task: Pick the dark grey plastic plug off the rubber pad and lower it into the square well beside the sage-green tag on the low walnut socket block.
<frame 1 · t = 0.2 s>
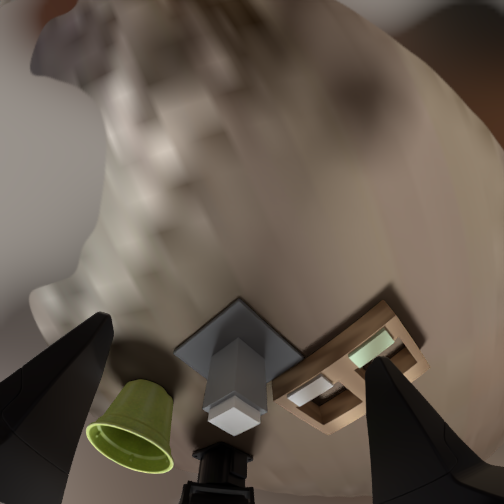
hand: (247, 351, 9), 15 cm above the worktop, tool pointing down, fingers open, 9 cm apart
plant pot: (148, 394, 29), on the worktop
pad: (238, 354, 27), on the worktop
plug: (237, 358, 26), resting on pad
socket block: (351, 368, 27), on the worktop
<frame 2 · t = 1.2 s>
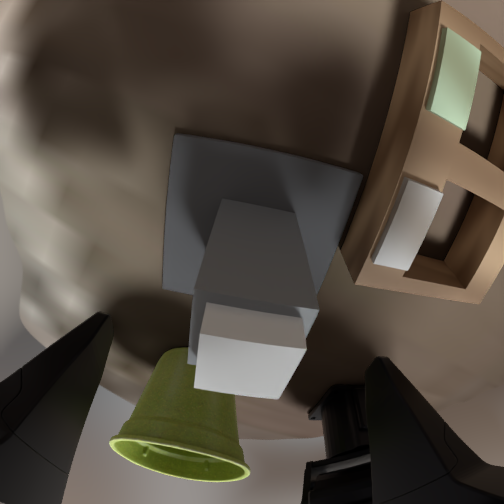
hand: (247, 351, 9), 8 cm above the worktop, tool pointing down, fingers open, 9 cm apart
plant pot: (195, 367, 22), on the worktop
pad: (251, 233, 15), on the worktop
plug: (251, 237, 15), resting on pad
socket block: (454, 162, 12), on the worktop
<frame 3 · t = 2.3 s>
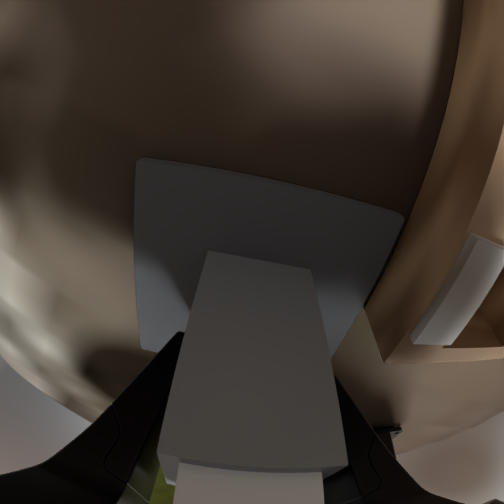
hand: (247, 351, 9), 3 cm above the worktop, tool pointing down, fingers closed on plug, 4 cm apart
plant pot: (187, 416, 18), on the worktop
pad: (250, 291, 11), on the worktop
plug: (250, 299, 11), resting on pad, touching gripper
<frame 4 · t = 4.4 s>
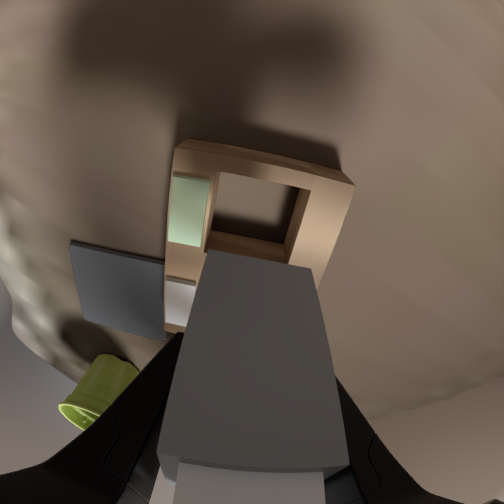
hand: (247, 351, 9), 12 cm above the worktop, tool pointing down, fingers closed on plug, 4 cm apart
plant pot: (118, 367, 30), on the worktop
pad: (120, 293, 23), on the worktop
plug: (250, 298, 11), point 9 cm above the worktop, touching gripper
socket block: (245, 248, 21), on the worktop
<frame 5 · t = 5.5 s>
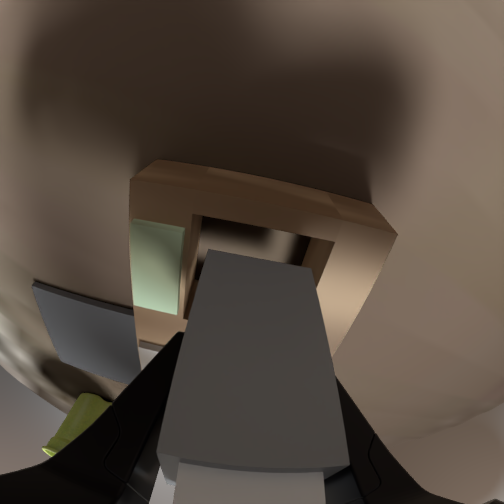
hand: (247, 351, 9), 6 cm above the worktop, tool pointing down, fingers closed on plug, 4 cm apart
plant pot: (104, 405, 25), on the worktop
pad: (94, 340, 18), on the worktop
plug: (250, 298, 11), point 4 cm above the worktop, touching gripper
socket block: (240, 300, 16), on the worktop
when the fingers open (4 cm above the worktop, at t = 6.4 s): plug drops 2 cm, resting in socket block.
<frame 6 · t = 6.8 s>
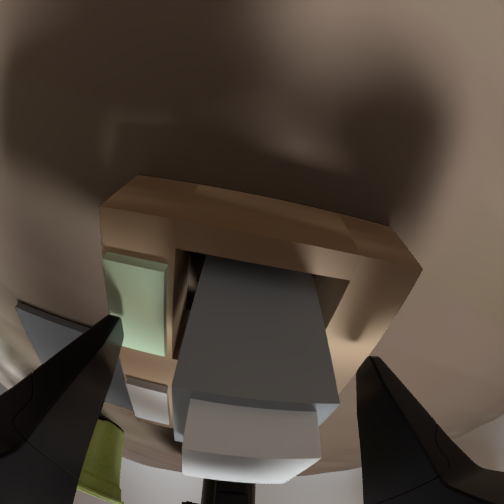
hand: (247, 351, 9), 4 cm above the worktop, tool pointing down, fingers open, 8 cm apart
plant pot: (98, 421, 23), on the worktop
pad: (83, 363, 17), on the worktop
plug: (251, 274, 12), resting in socket block
socket block: (237, 331, 14), on the worktop
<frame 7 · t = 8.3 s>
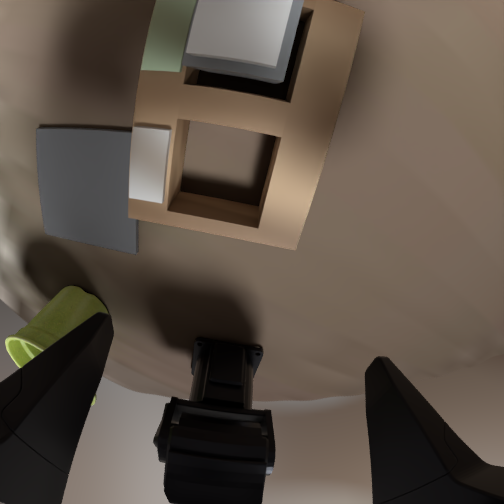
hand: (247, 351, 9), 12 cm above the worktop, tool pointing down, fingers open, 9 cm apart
plant pot: (85, 306, 25), on the worktop
pad: (85, 188, 18), on the worktop
plug: (250, 49, 13), resting in socket block
socket block: (237, 105, 15), on the worktop
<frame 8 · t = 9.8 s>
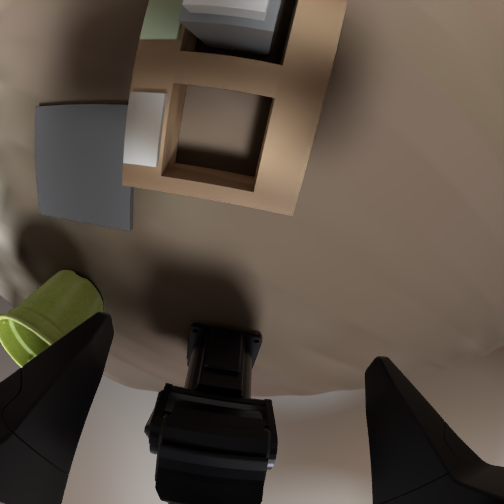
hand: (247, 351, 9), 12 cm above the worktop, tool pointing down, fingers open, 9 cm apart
plant pot: (78, 293, 24), on the worktop
pad: (81, 164, 17), on the worktop
plug: (244, 24, 13), resting in socket block
socket block: (232, 76, 15), on the worktop
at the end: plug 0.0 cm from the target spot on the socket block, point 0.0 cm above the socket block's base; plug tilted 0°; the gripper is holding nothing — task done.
